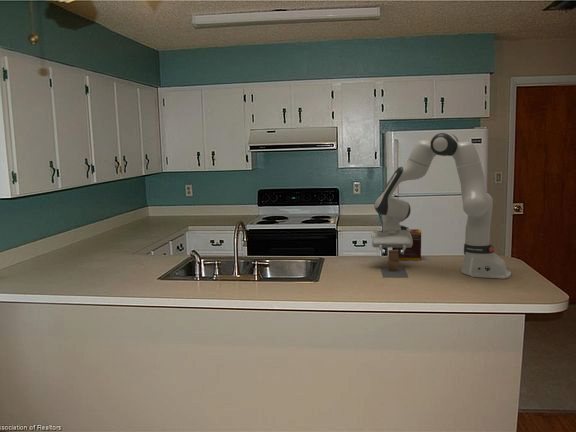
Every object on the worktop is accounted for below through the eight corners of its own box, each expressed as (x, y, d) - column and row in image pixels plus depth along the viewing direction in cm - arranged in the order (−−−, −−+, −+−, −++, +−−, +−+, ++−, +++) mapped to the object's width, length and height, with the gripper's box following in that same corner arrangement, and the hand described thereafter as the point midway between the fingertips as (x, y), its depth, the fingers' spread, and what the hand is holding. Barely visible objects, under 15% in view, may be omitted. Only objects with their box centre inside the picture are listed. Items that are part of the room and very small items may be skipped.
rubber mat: (380, 268, 265) (380, 267, 265) (404, 268, 263) (404, 267, 263) (382, 278, 245) (382, 277, 245) (408, 278, 244) (408, 277, 244)
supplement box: (421, 260, 279) (421, 232, 277) (392, 260, 282) (392, 232, 280) (420, 256, 289) (420, 229, 287) (392, 256, 292) (392, 228, 290)
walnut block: (388, 269, 260) (388, 249, 259) (397, 269, 260) (397, 249, 258) (389, 271, 257) (389, 251, 255) (398, 271, 256) (398, 251, 255)
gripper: (371, 227, 266) (372, 250, 258) (411, 227, 264) (414, 250, 255) (370, 234, 271) (371, 256, 263) (410, 234, 269) (412, 257, 260)
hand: (392, 253), depth 259 cm, fingers open, 8 cm apart
